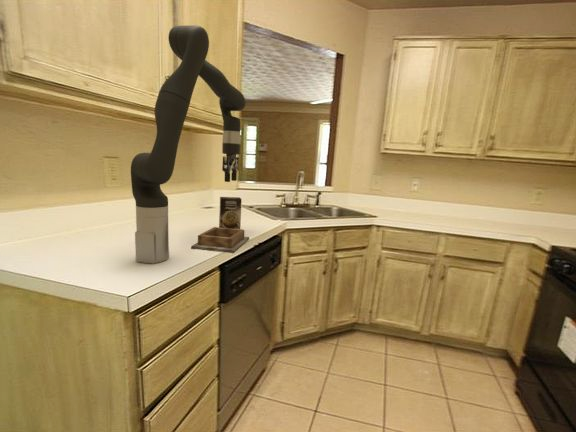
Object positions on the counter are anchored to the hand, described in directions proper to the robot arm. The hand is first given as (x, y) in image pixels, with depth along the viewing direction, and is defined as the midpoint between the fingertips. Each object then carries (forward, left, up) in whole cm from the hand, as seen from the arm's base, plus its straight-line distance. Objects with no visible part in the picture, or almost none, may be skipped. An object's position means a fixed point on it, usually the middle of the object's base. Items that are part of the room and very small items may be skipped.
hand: (230, 181), depth 132 cm
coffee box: (0, 0, -23) cm, 23 cm away
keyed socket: (-17, -3, -23) cm, 29 cm away
